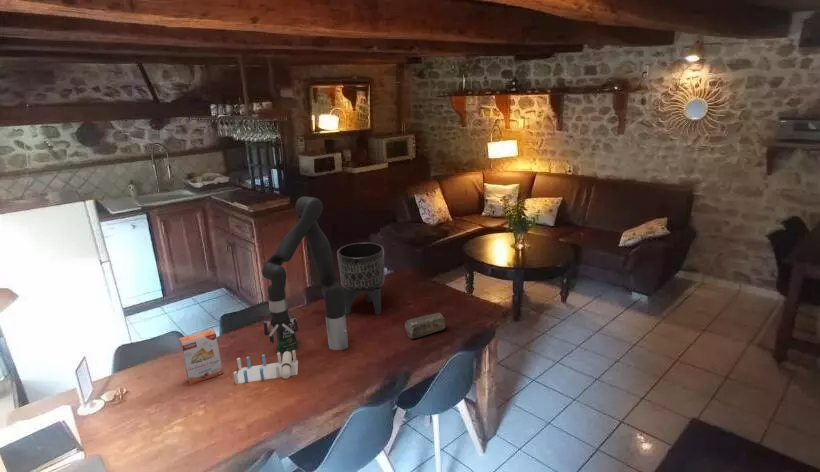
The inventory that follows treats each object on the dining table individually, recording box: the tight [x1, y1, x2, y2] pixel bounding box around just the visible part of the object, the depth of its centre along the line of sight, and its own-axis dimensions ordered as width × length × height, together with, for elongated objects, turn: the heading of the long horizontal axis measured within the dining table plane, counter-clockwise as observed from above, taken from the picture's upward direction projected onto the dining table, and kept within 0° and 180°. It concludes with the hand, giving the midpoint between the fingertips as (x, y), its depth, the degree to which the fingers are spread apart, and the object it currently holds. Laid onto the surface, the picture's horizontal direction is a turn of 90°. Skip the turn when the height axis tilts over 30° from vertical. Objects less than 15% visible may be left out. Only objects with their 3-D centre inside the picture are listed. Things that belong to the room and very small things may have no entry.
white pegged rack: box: [233, 349, 299, 385], centre depth 212 cm, size 26×13×6 cm, turn 101°
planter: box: [336, 241, 385, 316], centre depth 264 cm, size 25×25×36 cm
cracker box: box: [179, 328, 224, 386], centre depth 209 cm, size 14×6×21 cm, turn 124°
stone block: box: [404, 312, 446, 340], centre depth 241 cm, size 20×9×10 cm
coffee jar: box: [275, 311, 299, 354], centre depth 229 cm, size 10×8×19 cm
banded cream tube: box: [280, 351, 293, 380], centre depth 214 cm, size 16×4×4 cm, turn 11°
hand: (282, 341), depth 211 cm, fingers open, 8 cm apart
